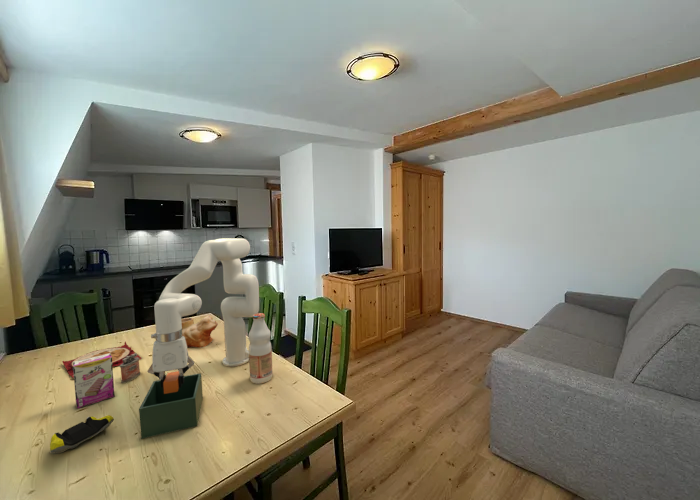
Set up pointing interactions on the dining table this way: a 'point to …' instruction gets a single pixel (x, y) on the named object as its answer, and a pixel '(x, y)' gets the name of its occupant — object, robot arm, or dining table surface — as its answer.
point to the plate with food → (115, 352)
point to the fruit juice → (260, 350)
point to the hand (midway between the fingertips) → (172, 386)
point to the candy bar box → (93, 380)
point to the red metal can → (130, 368)
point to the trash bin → (171, 407)
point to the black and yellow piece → (79, 433)
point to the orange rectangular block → (171, 382)
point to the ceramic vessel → (198, 331)
